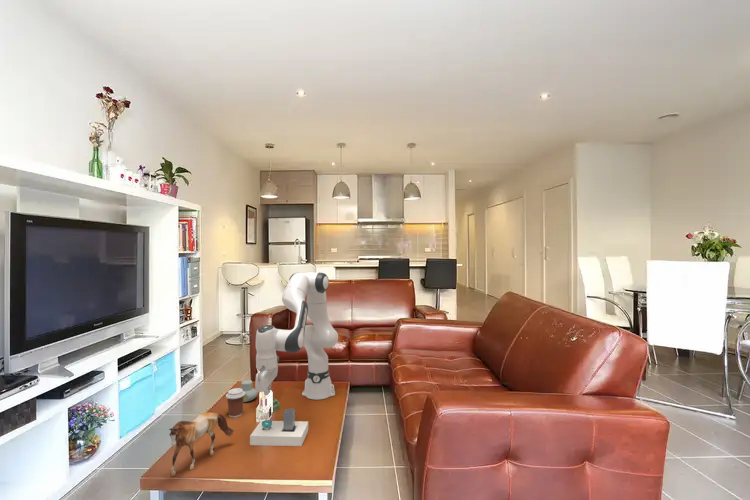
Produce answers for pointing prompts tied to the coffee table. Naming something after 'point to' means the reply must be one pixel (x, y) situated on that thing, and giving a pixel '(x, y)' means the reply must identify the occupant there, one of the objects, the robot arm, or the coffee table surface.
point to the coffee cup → (235, 402)
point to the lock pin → (266, 424)
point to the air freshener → (248, 390)
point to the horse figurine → (196, 433)
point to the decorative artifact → (275, 405)
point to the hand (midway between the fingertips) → (267, 393)
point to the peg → (289, 420)
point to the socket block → (279, 434)
